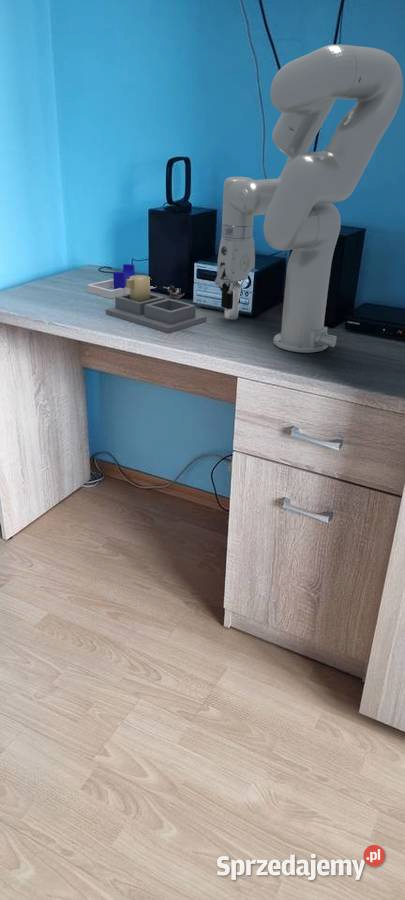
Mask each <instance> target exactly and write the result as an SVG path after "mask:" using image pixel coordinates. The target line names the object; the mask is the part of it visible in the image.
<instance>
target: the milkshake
mask: <svg viewBox="0 0 405 900" xmlns="http://www.w3.org/2000/svg"><path fill="white" fill-rule="evenodd" d="M243 282H244V281H243ZM243 282H242V284H243ZM226 284H227V286H228V285H229V283H228V282H226ZM242 284H241V285H240V284H239V283H237V282H233V288H232V292H231V293H233V307H232V309H227V308H224V318H225V319H226V320H233V321H234V320H237V319H239V309H240V305H239V303H240V296H241V290H242Z"/></svg>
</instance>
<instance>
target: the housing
mask: <svg viewBox="0 0 405 900" xmlns="http://www.w3.org/2000/svg"><path fill="white" fill-rule="evenodd" d="M150 279H151V277H150V276H149V275H145V274H144V275H143V274H136V275H134V276H130V279H127V280H126V288H129V289H130V293H129V294H125V295H120V296H116V297H115V298H114V299H115V301H114V302H115V305H114V306H113V307H109V308H106V309H105V314H106V315H108V316H112V317H115V318H118V319H121V320H124V321H127V322H131V323H134V324H137V325H141V326H144V327H147V328H151V329H152V330H153V329H154V330H157V331H160V332H164V333H166V334H169V333H173V332H176V331H179V330H182V329H186V328H189V327H192V326H195V325H196V326H197V325H199V324H202V323H205V322H207V316H205V315H203V314H198V313H196V310H197V309H196V308H197V307H196V304H192V303H191V304H190V303H189V302H184V301H180V300H178V299H174V298H166V297H165V296H162V295H158V294H153V293H151V289H150Z"/></svg>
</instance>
